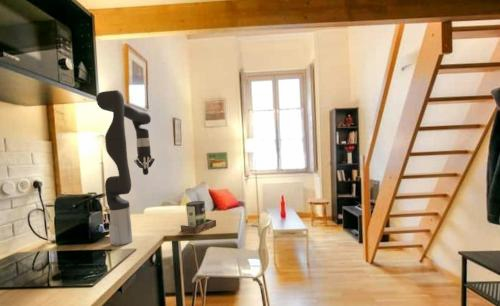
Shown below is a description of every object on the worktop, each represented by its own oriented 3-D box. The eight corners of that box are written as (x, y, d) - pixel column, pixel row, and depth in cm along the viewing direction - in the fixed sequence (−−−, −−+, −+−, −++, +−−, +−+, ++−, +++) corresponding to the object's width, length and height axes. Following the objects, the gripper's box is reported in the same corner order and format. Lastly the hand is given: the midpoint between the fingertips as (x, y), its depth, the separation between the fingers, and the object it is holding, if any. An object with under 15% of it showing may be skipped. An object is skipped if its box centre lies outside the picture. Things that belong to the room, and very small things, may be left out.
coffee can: (207, 224, 162) (205, 200, 162) (205, 229, 151) (203, 203, 151) (190, 225, 162) (188, 201, 161) (186, 231, 151) (184, 205, 151)
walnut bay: (194, 233, 146) (194, 227, 146) (181, 230, 152) (180, 225, 152) (216, 225, 158) (215, 219, 158) (202, 223, 165) (202, 218, 165)
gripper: (136, 146, 161) (139, 176, 162) (156, 145, 172) (159, 173, 172) (129, 147, 166) (132, 176, 166) (149, 146, 177) (151, 173, 177)
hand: (145, 174), depth 169 cm, fingers closed
